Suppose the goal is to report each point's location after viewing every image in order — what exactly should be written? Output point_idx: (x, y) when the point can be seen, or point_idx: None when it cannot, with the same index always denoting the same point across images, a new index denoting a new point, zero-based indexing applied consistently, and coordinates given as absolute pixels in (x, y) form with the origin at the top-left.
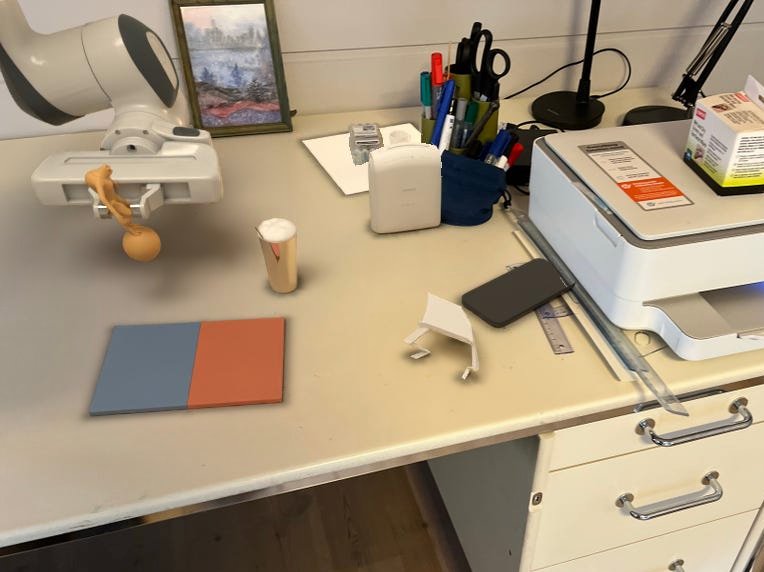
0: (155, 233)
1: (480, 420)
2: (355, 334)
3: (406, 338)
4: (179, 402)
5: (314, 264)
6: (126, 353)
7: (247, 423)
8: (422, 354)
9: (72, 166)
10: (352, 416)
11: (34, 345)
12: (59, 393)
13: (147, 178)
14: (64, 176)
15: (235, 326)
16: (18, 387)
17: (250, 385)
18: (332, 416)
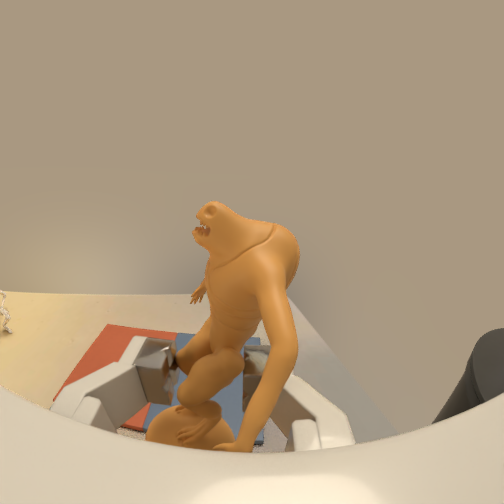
0: (147, 435)
1: (28, 294)
2: (19, 364)
3: (7, 315)
4: (183, 335)
5: None
6: (237, 393)
7: (138, 320)
8: (7, 327)
9: (499, 499)
10: (76, 310)
11: (357, 419)
12: (296, 363)
13: (71, 419)
14: (470, 422)
15: None
16: (338, 369)
17: (122, 337)
18: (86, 312)
